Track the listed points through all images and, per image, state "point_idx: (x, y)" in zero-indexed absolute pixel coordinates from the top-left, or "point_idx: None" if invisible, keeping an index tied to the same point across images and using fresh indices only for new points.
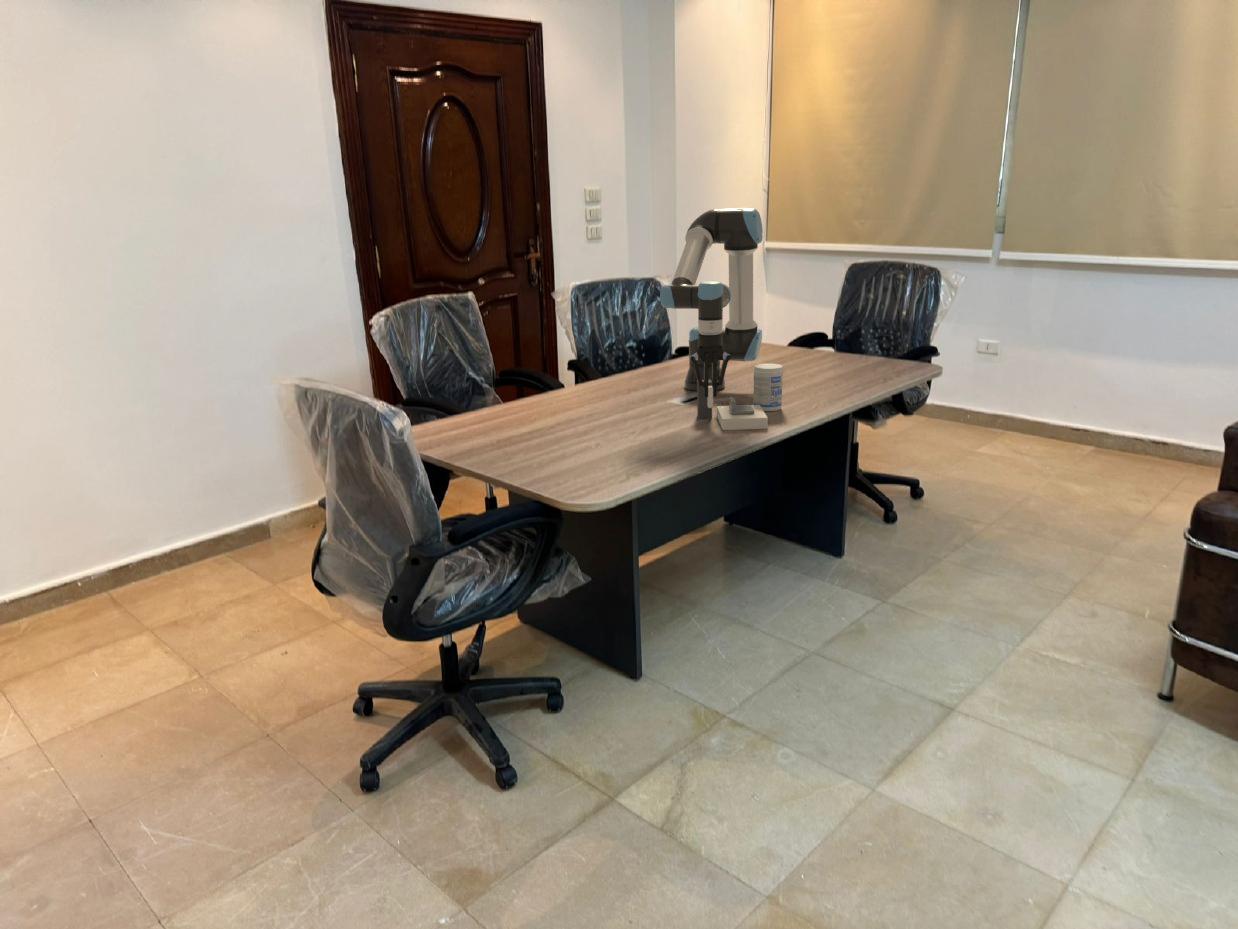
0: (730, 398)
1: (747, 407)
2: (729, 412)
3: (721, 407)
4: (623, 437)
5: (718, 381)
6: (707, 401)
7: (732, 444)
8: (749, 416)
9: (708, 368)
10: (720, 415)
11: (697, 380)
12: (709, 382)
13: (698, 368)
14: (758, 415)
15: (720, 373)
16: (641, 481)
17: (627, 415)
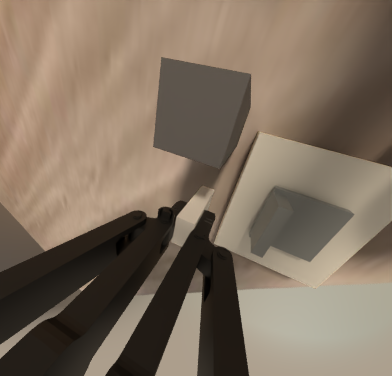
0: (272, 220)
1: (320, 227)
2: (255, 211)
3: (264, 154)
4: (84, 189)
5: (205, 273)
6: (198, 190)
7: None
8: (281, 260)
9: (105, 337)
10: (225, 214)
11: (160, 73)
12: (207, 160)
13: (52, 304)
14: (308, 266)
15: (205, 322)
16: None
17: (69, 43)
